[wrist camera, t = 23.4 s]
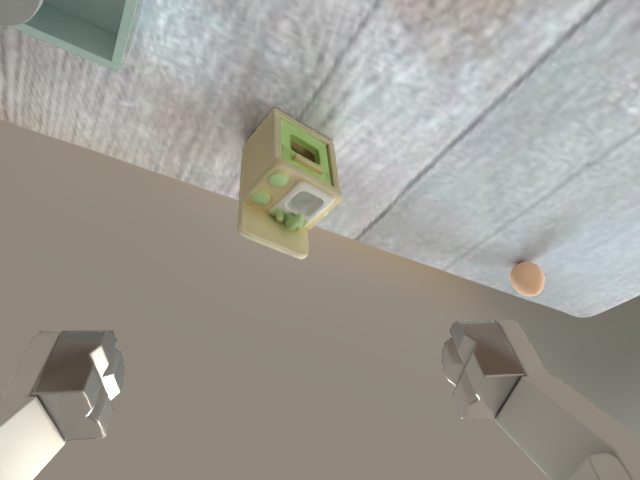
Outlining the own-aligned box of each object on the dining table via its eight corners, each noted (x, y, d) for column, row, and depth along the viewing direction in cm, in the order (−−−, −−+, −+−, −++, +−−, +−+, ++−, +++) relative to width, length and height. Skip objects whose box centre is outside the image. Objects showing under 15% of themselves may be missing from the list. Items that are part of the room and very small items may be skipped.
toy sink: (339, 139, 50) (349, 226, 42) (301, 177, 54) (304, 262, 46) (277, 101, 45) (275, 190, 37) (241, 145, 50) (233, 234, 42)
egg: (543, 260, 72) (557, 291, 68) (518, 275, 75) (529, 305, 71) (524, 252, 69) (538, 282, 66) (499, 267, 73) (510, 297, 69)
